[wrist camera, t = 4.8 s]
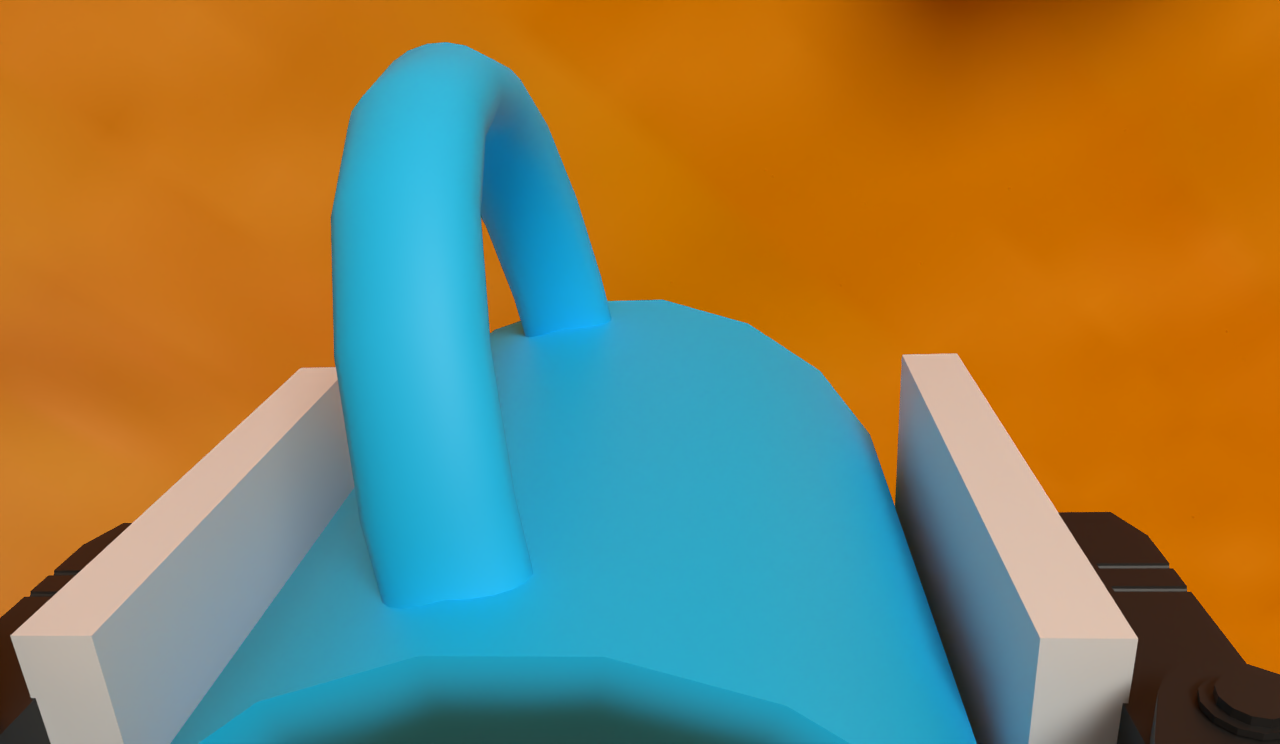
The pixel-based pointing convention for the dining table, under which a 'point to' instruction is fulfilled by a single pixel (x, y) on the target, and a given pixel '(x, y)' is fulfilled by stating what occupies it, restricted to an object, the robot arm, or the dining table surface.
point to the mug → (569, 487)
